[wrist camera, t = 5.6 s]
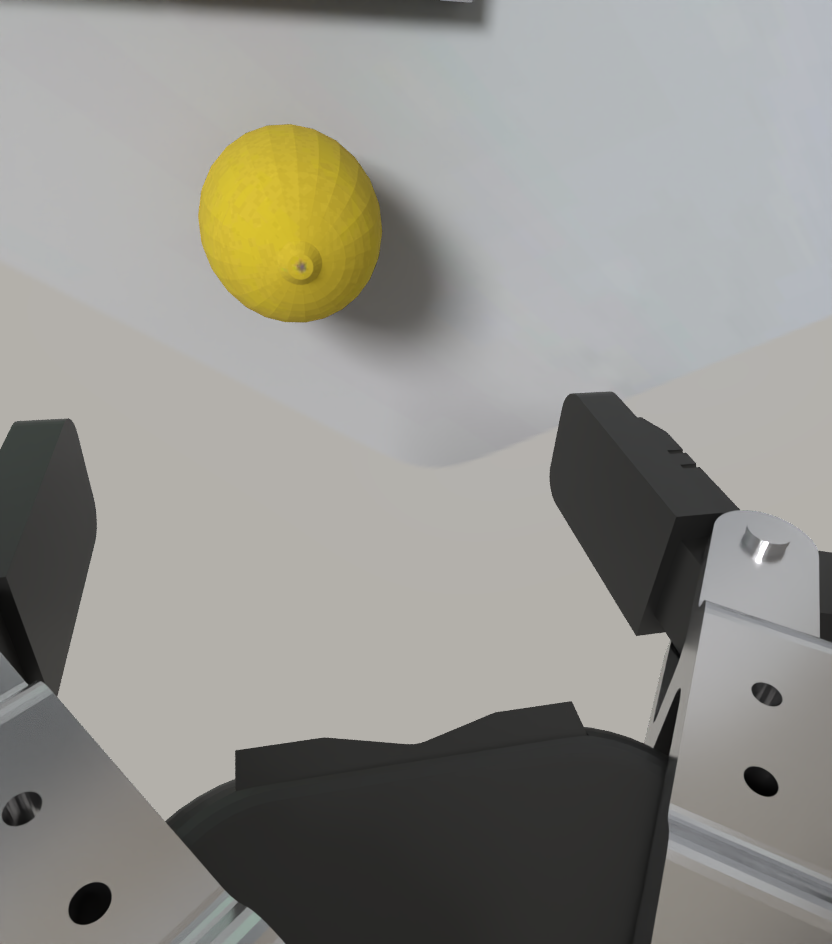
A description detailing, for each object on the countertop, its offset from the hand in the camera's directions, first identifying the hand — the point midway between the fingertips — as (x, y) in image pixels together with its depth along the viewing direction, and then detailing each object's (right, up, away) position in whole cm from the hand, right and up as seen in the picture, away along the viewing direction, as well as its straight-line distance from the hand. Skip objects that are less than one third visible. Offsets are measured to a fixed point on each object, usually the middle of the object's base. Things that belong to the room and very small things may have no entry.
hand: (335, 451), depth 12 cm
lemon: (-3, +10, +13) cm, 17 cm away
